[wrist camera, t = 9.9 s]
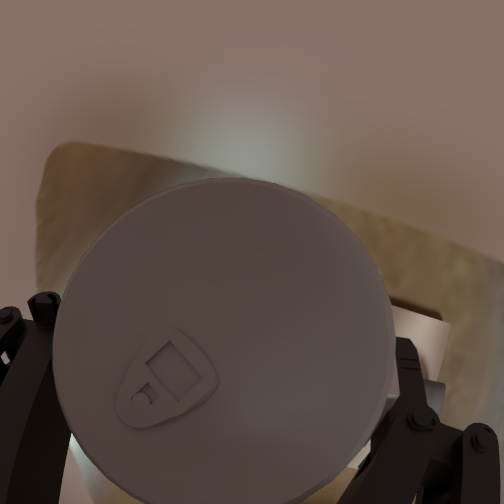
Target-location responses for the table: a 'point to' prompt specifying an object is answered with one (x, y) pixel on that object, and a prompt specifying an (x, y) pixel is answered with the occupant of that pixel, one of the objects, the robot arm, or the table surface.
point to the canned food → (224, 346)
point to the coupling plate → (420, 357)
